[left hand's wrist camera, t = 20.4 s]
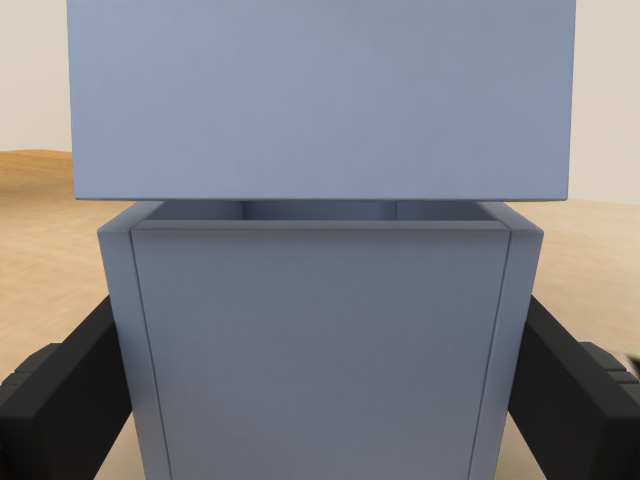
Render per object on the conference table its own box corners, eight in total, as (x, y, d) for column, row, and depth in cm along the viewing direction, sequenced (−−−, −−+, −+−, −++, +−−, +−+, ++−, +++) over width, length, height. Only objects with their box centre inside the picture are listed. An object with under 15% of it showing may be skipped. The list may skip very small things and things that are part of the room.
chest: (239, 298, 26) (227, 139, 23) (400, 299, 26) (412, 139, 23) (155, 531, 13) (95, 229, 9) (484, 531, 13) (546, 230, 9)
